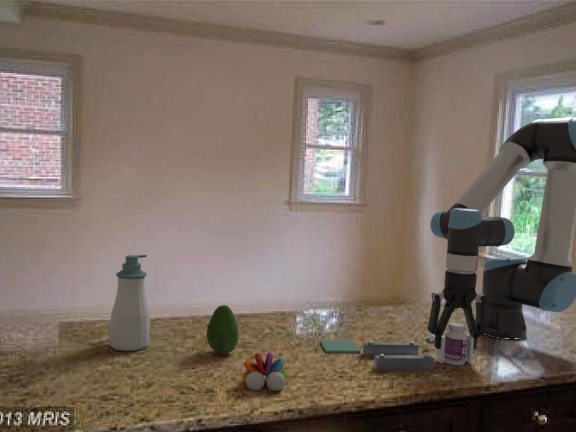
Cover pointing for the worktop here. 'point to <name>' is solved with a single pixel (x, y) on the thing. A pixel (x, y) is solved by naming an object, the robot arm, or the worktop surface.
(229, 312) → the avocado
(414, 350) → the channel
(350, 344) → the pad
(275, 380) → the rainbow fan toy
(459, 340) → the pill bottle
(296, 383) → the worktop surface
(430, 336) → the adhesive hook
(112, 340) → the soap bottle
